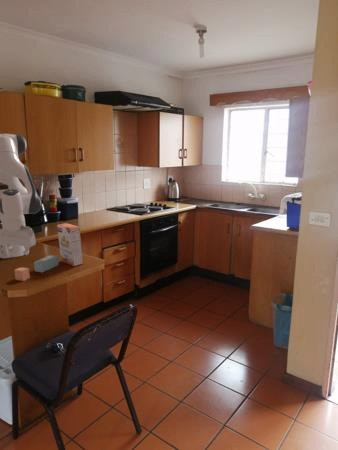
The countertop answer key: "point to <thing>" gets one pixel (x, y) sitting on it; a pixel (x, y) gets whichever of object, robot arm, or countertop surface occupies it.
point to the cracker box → (70, 244)
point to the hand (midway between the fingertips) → (18, 253)
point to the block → (22, 273)
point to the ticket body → (46, 263)
